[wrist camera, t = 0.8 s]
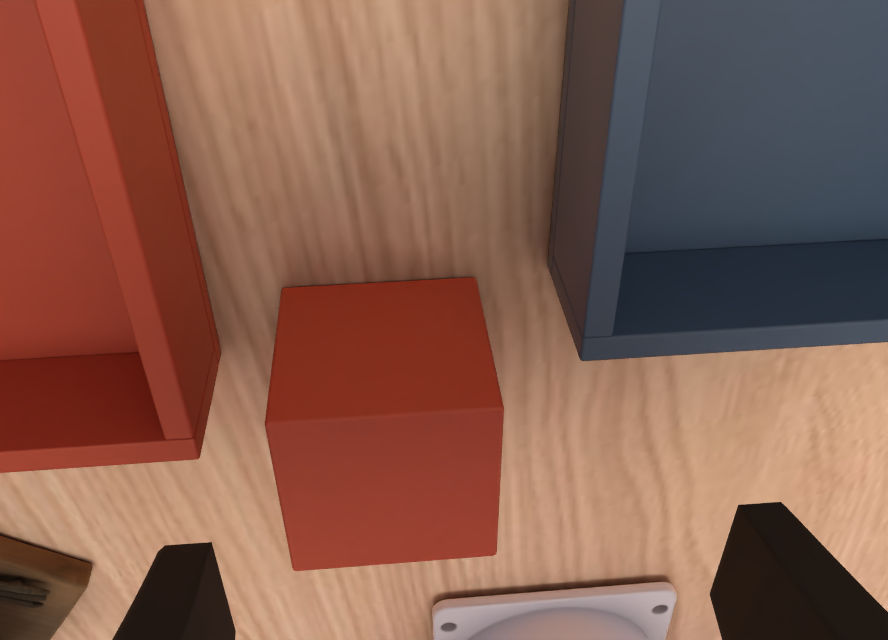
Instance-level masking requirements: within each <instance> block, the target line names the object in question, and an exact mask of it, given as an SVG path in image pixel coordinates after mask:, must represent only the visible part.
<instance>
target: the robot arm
mask: <svg viewBox="0 0 888 640" xmlns="http://www.w3.org/2000/svg"><path fill="white" fill-rule="evenodd" d="M710 597H711V600H712V604H713V608H714V611H715V615H716V619H717V622H718V626H719V630H720V633H721V637H722V640H888V612H887V611H886V610H885V609H884V608H883V607H882V606H881V605H880V604H879V603H878V602H877V601H876V600H875V599H874V598H873V597H872V596H871V595H870V594H869V593H868V592H867V591H866V590H865V589H864V588H863V587H862V586H861V584H860V583H859V582H858V581H857V580H856V579H855V578H854V577H853V576H852V575H851V574H850V573H849V572H848V571H847V570H846V569H845V568H844V567H843V566H842V565H841V564H840V563H839V562H838V561H837V560H836V559H835V558H834V557H833V555H832V554H831V553H830V552H829V551H828V550H827V549H826V548H825V547H824V546H823V545H822V544H821V543H820V542H819V541H818V540H817V539H816V538H815V537H814V536H813V535H812V533H811V532H810V531H809V530H808V529H807V528H806V527H805V526H804V525H803V524H802V523H801V522H800V521H799V520H798V519H797V518H796V517H795V516H794V515H793V514H792V513H791V512H790V511H789V510H788V509H787V507H786V506H785V505H783V504H782V503H781V502H774V503H760V504H746V505H738V508H737V511H736V514H735V517H734V520H733V523H732V526H731V530H730V533H729V536H728V539H727V542H726V545H725V548H724V551H723V554H722V558H721V561H720V564H719V567H718V570H717V573H716V576H715V579H714V582H713V586H712V589H711V592H710ZM676 599H677V594H676V592H675V589H674V586H673V585H672V584H670V583H667V582H652V583H640V584H627V585H615V586H603V587H591V588H578V589H566V590H554V591H541V592H529V593H517V594H505V595H492V596H480V597H468V598H455V599H446V600H441V601H439V602H437V603H436V604H435V605H434V606H433V609H432V622H433V640H665V639H666V635H667V632H668V628H669V624H670V621H671V617H672V614H673V610H674V606H675V603H676ZM235 632H236V631H235V627H234V624H233V620H232V616H231V613H230V609H229V605H228V601H227V598H226V594H225V590H224V587H223V583H222V579H221V575H220V572H219V568H218V564H217V561H216V557H215V553H214V549H213V546H212V542H209V543H195V544H181V545H167V546H164V547H163V548H162V549H161V550H160V551H158V553H157V555H156V557H155V559H154V561H153V563H152V566H151V568H150V570H149V572H148V574H147V576H146V578H145V580H144V582H143V584H142V586H141V587H140V589H139V591H138V593H137V595H136V597H135V599H134V601H133V603H132V605H131V607H130V609H129V610H128V612H127V614H126V616H125V618H124V620H123V622H122V623H121V625H120V627H119V629H118V631H117V632H116V634H115V636H114V638H113V640H235Z"/></svg>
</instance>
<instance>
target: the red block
mask: <svg viewBox="0 0 888 640" xmlns="http://www.w3.org/2000/svg"><path fill="white" fill-rule="evenodd" d="M503 417H504V406H503V402H502V397H501V392H500V387H499V383H498V378H497V373H496V369H495V364H494V359H493V355H492V350H491V345H490V341H489V336H488V331H487V327H486V322H485V317H484V313H483V308H482V303H481V299H480V294H479V289H478V285H477V280H476V278H474V277H470V278H452V279H434V280H415V281H397V282H379V283H361V284H343V285H325V286H307V287H289V288H283V289H282V291H281V298H280V306H279V314H278V322H277V330H276V338H275V346H274V354H273V362H272V370H271V378H270V386H269V394H268V402H267V410H266V418H265V428H266V433H267V438H268V444H269V449H270V454H271V459H272V464H273V470H274V475H275V480H276V485H277V490H278V495H279V501H280V506H281V511H282V516H283V521H284V526H285V532H286V537H287V542H288V547H289V552H290V558H291V563H292V568H293V570H294V571H303V570H315V569H328V568H341V567H354V566H367V565H379V564H392V563H405V562H418V561H431V560H443V559H456V558H469V557H482V556H494V555H495V554H496V552H497V535H498V516H499V496H500V476H501V457H502V437H503Z"/></svg>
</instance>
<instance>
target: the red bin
mask: <svg viewBox="0 0 888 640" xmlns="http://www.w3.org/2000/svg"><path fill="white" fill-rule="evenodd" d="M220 356H221V350H220V346H219V341H218V337H217V332H216V328H215V323H214V319H213V314H212V310H211V305H210V301H209V296H208V292H207V287H206V283H205V278H204V274H203V269H202V265H201V260H200V256H199V251H198V247H197V242H196V238H195V233H194V229H193V224H192V220H191V215H190V211H189V206H188V202H187V197H186V193H185V188H184V184H183V179H182V175H181V170H180V165H179V161H178V156H177V152H176V147H175V143H174V138H173V134H172V129H171V125H170V120H169V116H168V111H167V107H166V102H165V98H164V93H163V89H162V84H161V80H160V75H159V71H158V66H157V62H156V57H155V53H154V48H153V44H152V39H151V35H150V30H149V26H148V21H147V17H146V12H145V8H144V3H143V0H0V473H5V472H19V471H34V470H48V469H63V468H78V467H92V466H107V465H121V464H136V463H150V462H165V461H180V460H194V459H199V458H200V454H201V449H202V444H203V439H204V434H205V429H206V425H207V420H208V415H209V410H210V405H211V400H212V396H213V391H214V386H215V381H216V376H217V371H218V365H219V361H220Z"/></svg>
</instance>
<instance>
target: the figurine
mask: <svg viewBox="0 0 888 640" xmlns="http://www.w3.org/2000/svg"><path fill="white" fill-rule="evenodd" d="M91 571H92V564H90V563H86V562H83V561H80V560H77V559H73V558H70V557H67V556H64V555H61V554H57V553H54V552H51V551H47V550H44V549H41V548H38V547H34V546H31V545H27V544H24V543H21V542H18V541H15V540H12V539H9V538H6V537H3V536H0V640H50V639H51V638H52V636H53V635H54V634H55V632H56V631H57V629H58V628H59V626H60V625H61V624H62V622H63V621H64V619H65V618H66V617H67V615H68V614H69V612H70V611H71V609H72V608H73V607H74V605H75V604H76V602H77V601H78V599H79V598H80V597H81V595H82V594H83V592H84V591H85V589H86V588H87V585H88V582H89V578H90V575H91Z"/></svg>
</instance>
